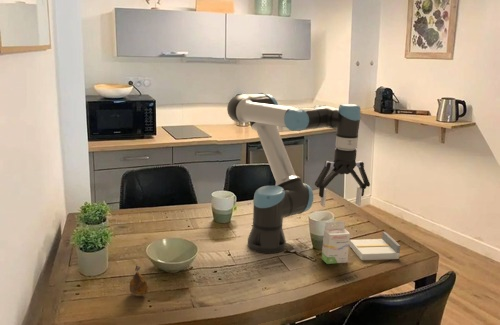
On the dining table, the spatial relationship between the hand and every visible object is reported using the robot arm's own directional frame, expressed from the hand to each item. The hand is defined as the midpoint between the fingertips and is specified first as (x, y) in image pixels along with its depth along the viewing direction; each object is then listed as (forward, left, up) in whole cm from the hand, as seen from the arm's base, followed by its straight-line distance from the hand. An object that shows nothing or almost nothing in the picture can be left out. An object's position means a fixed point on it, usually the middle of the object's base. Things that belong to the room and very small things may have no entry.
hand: (340, 205), depth 171 cm
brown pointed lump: (-72, -18, -22) cm, 77 cm away
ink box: (-1, -1, -22) cm, 22 cm away
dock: (+17, +5, -22) cm, 28 cm away
